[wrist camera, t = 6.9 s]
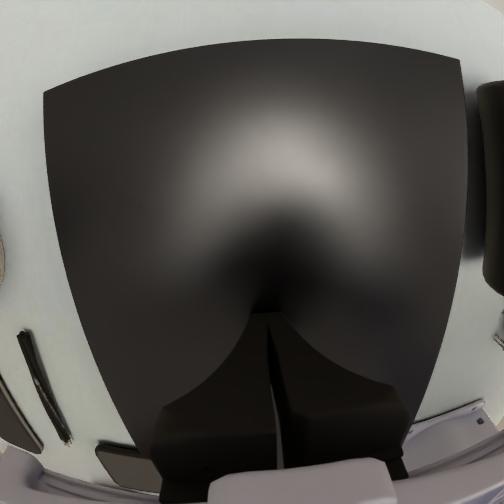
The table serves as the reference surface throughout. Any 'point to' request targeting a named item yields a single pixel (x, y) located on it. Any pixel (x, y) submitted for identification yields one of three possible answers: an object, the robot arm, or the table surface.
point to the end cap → (493, 180)
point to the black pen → (42, 386)
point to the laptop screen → (260, 210)
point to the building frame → (500, 339)
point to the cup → (1, 261)
